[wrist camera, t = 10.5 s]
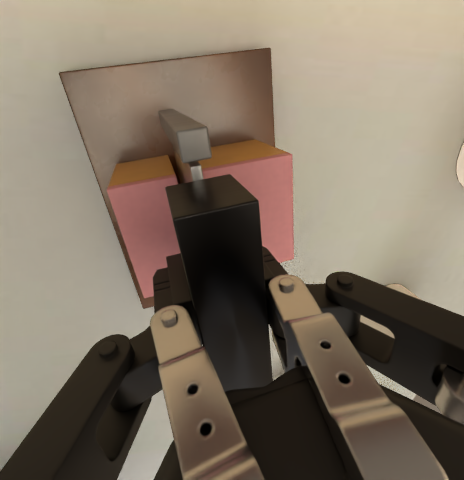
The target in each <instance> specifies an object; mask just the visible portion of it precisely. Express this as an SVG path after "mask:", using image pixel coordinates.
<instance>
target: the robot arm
mask: <svg viewBox="0 0 464 480" xmlns="http://www.w3.org/2000/svg"><path fill="white" fill-rule="evenodd" d="M262 249H263V262H264V275H265V288H266V301H267V314H268V324H269V325H270V326H271V328H272V337H273V341H274V343H275V346H276V349H277V352H278V355H279V358H280V360H281V363H282V366H283V369H284V372H285V373H284V374H283V375H282V376H280V377H279V378H277V379H276V380H274V381H273V382H271V383H270V384H268V385H266V386H264V387H256V388H245V389H233V390H228V391H226V392H224V389H223V387H222V385H221V383H220V380H219V378H218V376H217V373H216V371H215V369H214V366H213V364H212V362H211V359H210V357H209V355H208V352H207V350H206V348H205V347H204V346H202V344H203V343H202V339H201V335H200V331H199V327H198V323H197V318H196V314H195V310H194V306H193V302H192V298H191V294H190V290H189V286H188V281H187V277H186V273H185V269H184V265H183V261H182V257H181V253H179V254H175V255H171V256H166V261H167V267H166V268H162V269H158V270H157V271H156V272H155V274H154V276H153V291H154V309H155V314H154V315H153V316H152V318H151V321H150V326H149V327H148V328H147V329H146V330H145V331H144V332H142V333H140V334H139V335H137V336H135V337H133V338H131V339H130V340H129V338H128V337H126V336H125V335H120V334H116V335H111V336H108V337H105V338H103V339H102V340H100V341H99V342H97V343H96V344H95V345H94V346H93V347H92V348H91V349H90V351H89V352H88V353H87V355H86V356H85V357H84V359H83V360H82V361H81V363H80V364H79V366H78V367H77V368H76V370H75V371H74V372H73V374H72V375H71V376H70V378H69V379H68V380H67V382H66V383H65V384H64V386H63V387H62V389H61V390H60V391H59V393H58V394H57V395H56V397H55V398H54V399H53V401H52V402H51V403H50V405H49V406H48V408H47V409H46V410H45V412H44V413H43V414H42V416H41V417H40V418H39V420H38V421H37V422H36V424H35V425H34V427H33V428H32V429H31V431H30V432H29V433H28V435H27V436H26V437H25V439H24V440H23V441H22V443H21V444H20V446H19V447H18V448H17V450H16V451H15V452H14V454H13V455H12V456H11V458H10V459H9V460H8V462H7V463H6V464H5V466H4V467H3V469H2V470H1V471H0V480H117V478H118V476H119V473H120V471H121V469H122V466H123V464H124V462H125V459H126V457H127V455H128V453H129V450H130V448H131V446H132V443H133V441H134V439H135V437H136V434H137V432H138V430H139V427H140V425H141V423H142V421H143V418H144V416H145V414H146V411H147V409H148V407H149V405H150V402H151V398H152V396H153V395H155V394H156V393H158V392H159V391H161V390H162V389H163V392H164V397H165V401H166V406H167V410H168V415H169V419H170V424H171V428H172V433H173V437H174V440H173V442H172V443H171V445H170V447H169V449H168V451H167V453H166V455H165V457H164V459H163V461H162V464H161V466H160V468H159V470H158V472H157V474H156V476H155V478H154V480H464V316H461V315H459V314H456V313H454V312H451V311H449V310H446V309H443V308H441V307H438V306H436V305H433V304H430V303H428V302H425V301H423V300H420V299H417V298H415V297H412V296H410V295H407V294H405V293H402V292H399V291H397V290H394V289H392V288H389V287H386V286H384V285H381V284H379V283H376V282H373V281H371V280H368V279H366V278H363V277H361V276H358V275H355V274H353V273H349V272H335V273H332V274H330V275H329V276H328V277H327V278H326V284H304V282H303V281H302V280H301V279H300V278H299V277H296V276H294V275H288V273H287V272H286V271H285V270H284V268H283V267H282V266H281V265H280V263H279V262H278V261H277V260H276V259H275V257H274V256H273V255H272V254H271V252H270V251H269V250H268V249H267V248H266V247H264V246H262ZM361 315H362V316H364V317H366V318H368V319H370V320H372V321H374V322H376V323H378V324H380V325H382V326H384V327H386V328H388V329H389V330H390V331H391V332H392V333H393V335H394V338H395V339H394V338H392V337H390V336H388V335H386V334H384V333H382V332H380V331H378V330H376V329H374V328H372V327H370V326H368V325H366V324H364V323H362V322H360V318H361ZM366 365H368V366H370V367H371V368H373V369H375V370H376V371H378V372H380V373H382V374H383V375H385V376H387V377H388V378H390V379H392V380H393V381H395V382H397V383H398V384H400V385H402V386H403V387H405V388H407V389H408V390H410V391H412V392H413V393H415V394H417V395H419V396H420V397H422V398H424V399H425V400H427V401H429V402H430V403H432V404H434V405H435V406H437V408H438V409H439V411H440V412H441V414H440V413H438V412H436V411H434V410H432V409H430V408H428V407H426V406H424V405H422V404H419V403H417V402H415V401H413V400H411V399H409V398H407V397H405V396H403V395H401V394H399V393H396V392H394V391H392V390H390V389H388V388H386V387H384V386H382V385H380V384H378V382H377V381H376V379H375V378H374V376H373V375H372V373H371V372H370V370H369V369H368V367H367V366H366Z"/></svg>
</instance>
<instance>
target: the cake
mask: <svg viewBox="0 0 464 480" xmlns="http://www.w3.org/2000/svg"><path fill="white" fill-rule="evenodd" d="M211 153H212V158H210V159H206V160H200V161H198V162H199V163H200V165H201V167H202V173H203V178H204V179H207V178H212V177H217V176H222V175H227V174H231V175H232V176H233V177H234V178H235V179H236V180H237V181H238V182H239V183H240V184H241V185H243V186H244V187H245V188H246V189H247V190H248V191H249V192H250V193H251V194H252V195H253V196H254V197H256V198H257V199H258V201H259V210H260V223H261V236H262V246H264V247H266V248H267V249H268V250H269V251H270V252H271V254H272V255H273V256H274V257H275V259H276V260H277V261H278V262H279V263H280V262H284V261H288V260H291V259H294V241H293V173H292V154H290V153H287V152H285V151H283V150H280V149H278V148H275V147H273V146H270V145H268V144H266V143H263V142H261V141H258V140H256V139H254V140H249V141H243V142H238V143H232V144H226V145H221V146H215V147H211ZM177 184H178V181H177V177H176V174H175V172H174V169H173V167H172V164H171V162H170V159H169V157H168V155H164V156H159V157H153V158H147V159H142V160H136V161H130V162H125V163H119V164H116V166H115V169H114V172H113V174H112V177H111V180H110V182H109V185H108V188H107V193H108V196H109V199H110V202H111V205H112V208H113V211H114V213H115V216H116V219H117V222H118V225H119V228H120V231H121V233H122V236H123V239H124V242H125V245H126V248H127V251H128V254H129V256H130V259H131V262H132V265H133V268H134V271H135V274H136V277H137V279H138V282H139V285H140V288H141V291H142V294H143V297H144V298H148V297H152V296H154V291H153V276H154V274H155V272H156V271H157V270H158V269H162V268H166V267H167V261H166V256H171V255H175V254H179V253H180V248H179V244H178V240H177V236H176V232H175V228H174V224H173V220H172V215H171V211H170V207H169V203H168V198H167V194H166V190H165V187H167V186H172V185H177Z"/></svg>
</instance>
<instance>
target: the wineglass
mask: <svg viewBox="0 0 464 480" xmlns="http://www.w3.org/2000/svg"><path fill="white" fill-rule="evenodd" d="M456 173H457V177H458V180H459V182H460V183H461V184H462V185H463V187H464V144H463V146H462V147H461V151H460V154H459V157H458V160H457V170H456Z"/></svg>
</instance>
